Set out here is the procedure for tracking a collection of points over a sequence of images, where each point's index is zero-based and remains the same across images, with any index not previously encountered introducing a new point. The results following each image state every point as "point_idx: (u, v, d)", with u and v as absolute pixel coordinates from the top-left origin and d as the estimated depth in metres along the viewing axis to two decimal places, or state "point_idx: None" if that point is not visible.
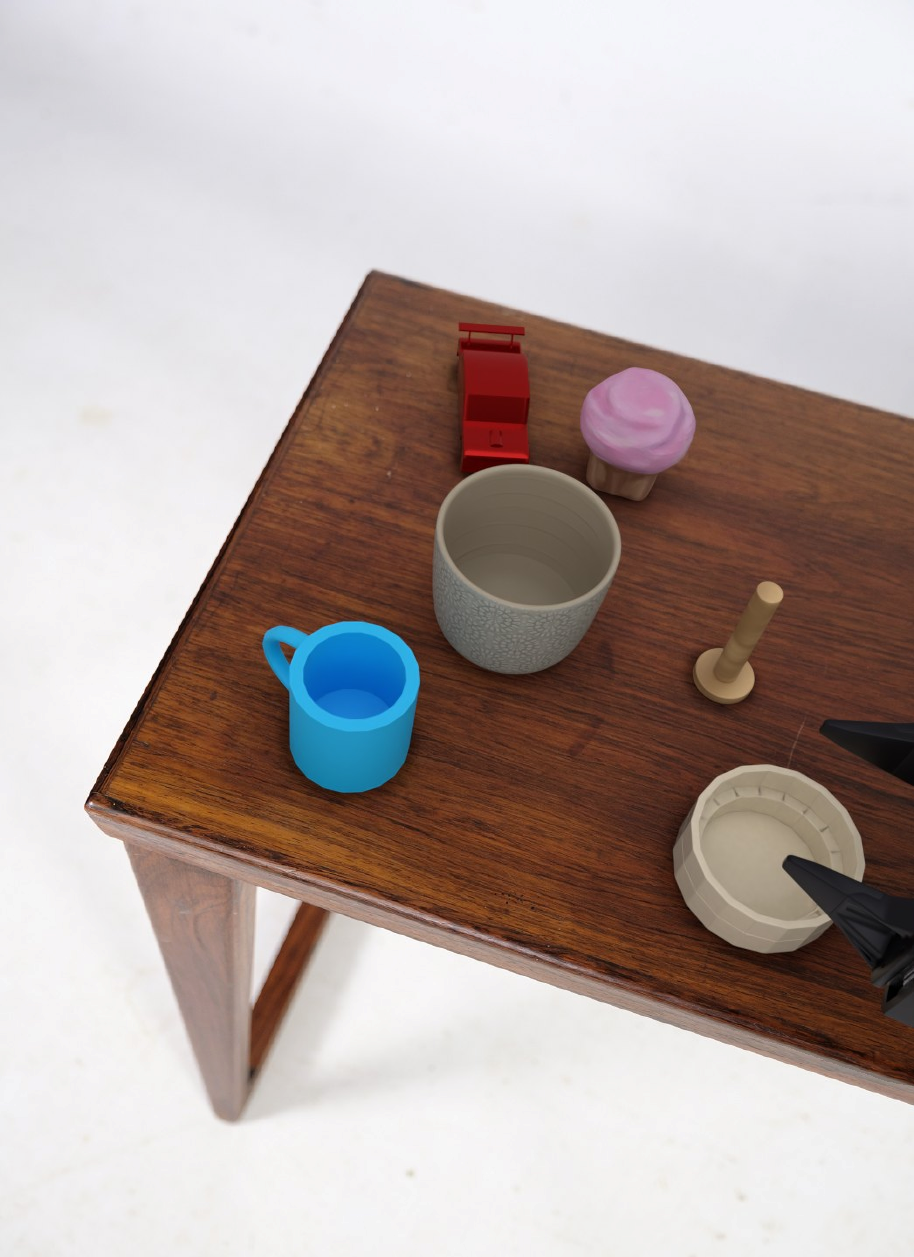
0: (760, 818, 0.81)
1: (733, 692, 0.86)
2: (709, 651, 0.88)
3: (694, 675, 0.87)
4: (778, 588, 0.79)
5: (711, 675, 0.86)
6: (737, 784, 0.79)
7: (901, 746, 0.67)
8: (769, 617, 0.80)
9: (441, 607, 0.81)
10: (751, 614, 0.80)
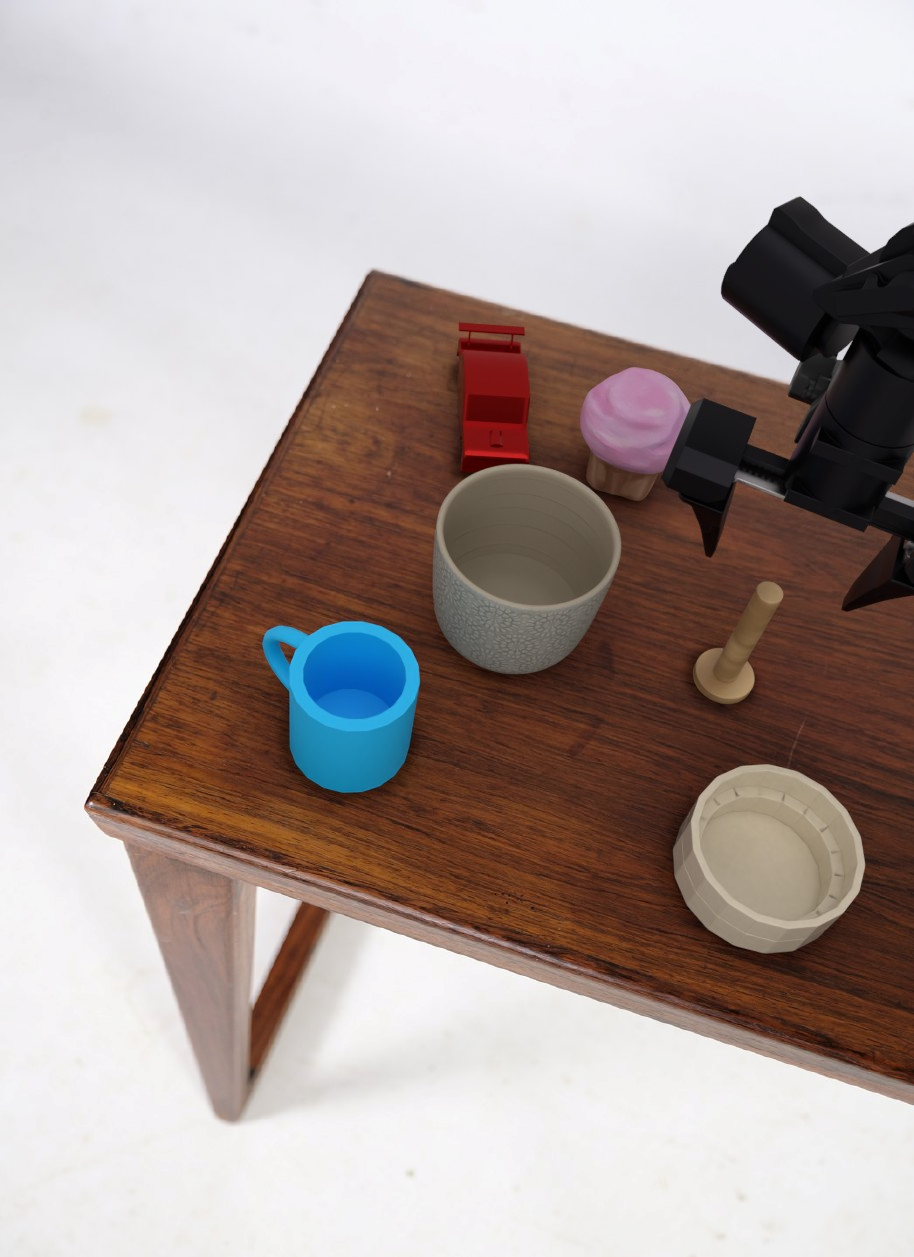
0: (760, 818, 0.81)
1: (733, 692, 0.86)
2: (709, 651, 0.88)
3: (694, 675, 0.87)
4: (778, 588, 0.79)
5: (711, 675, 0.86)
6: (737, 784, 0.79)
7: (878, 557, 0.73)
8: (769, 617, 0.80)
9: (441, 607, 0.81)
10: (751, 614, 0.80)
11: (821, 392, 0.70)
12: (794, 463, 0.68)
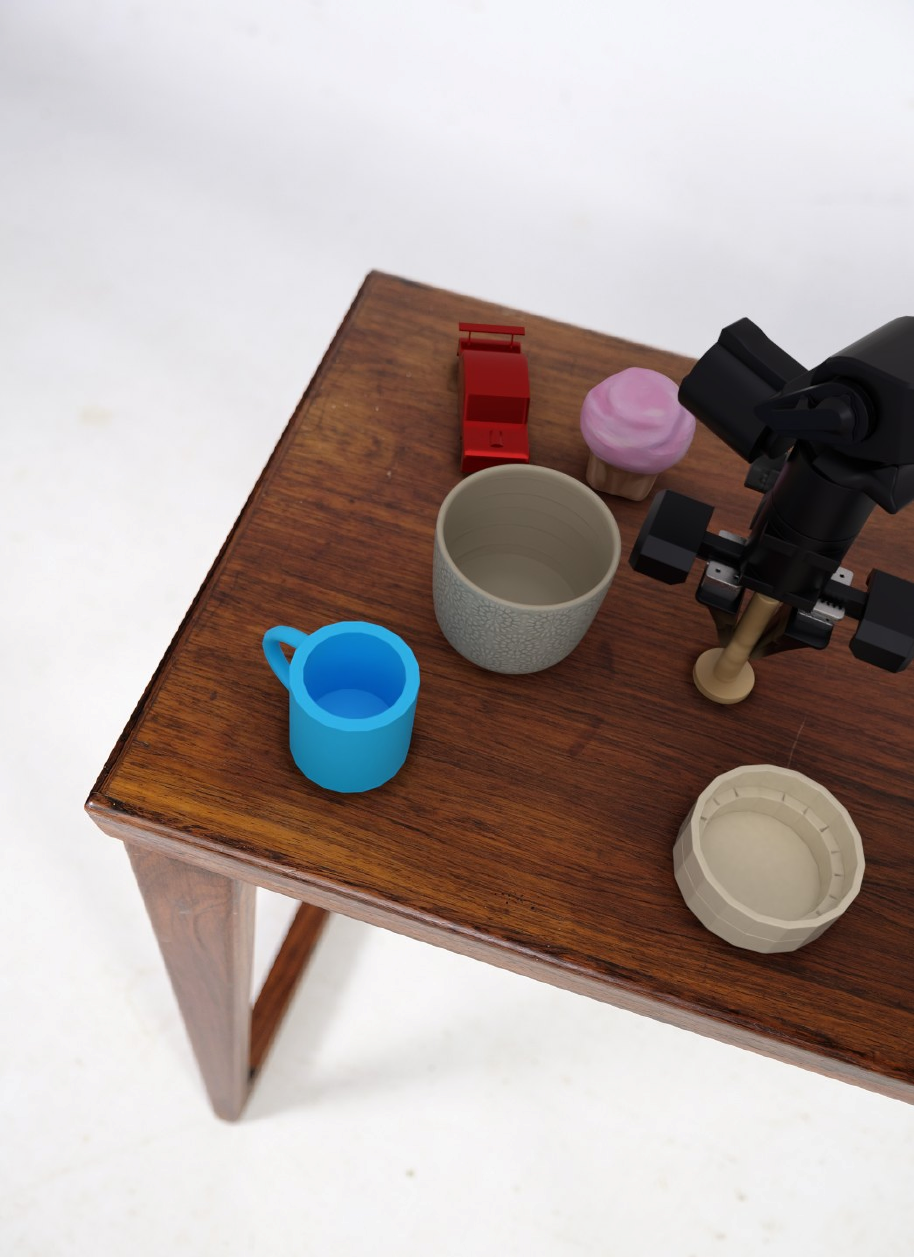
0: (760, 818, 0.81)
1: (733, 692, 0.86)
2: (709, 651, 0.88)
3: (694, 675, 0.87)
4: None
5: (711, 675, 0.86)
6: (737, 784, 0.79)
7: (778, 612, 0.81)
8: (769, 617, 0.80)
9: (441, 607, 0.81)
10: (751, 614, 0.80)
11: (773, 484, 0.77)
12: (747, 550, 0.75)
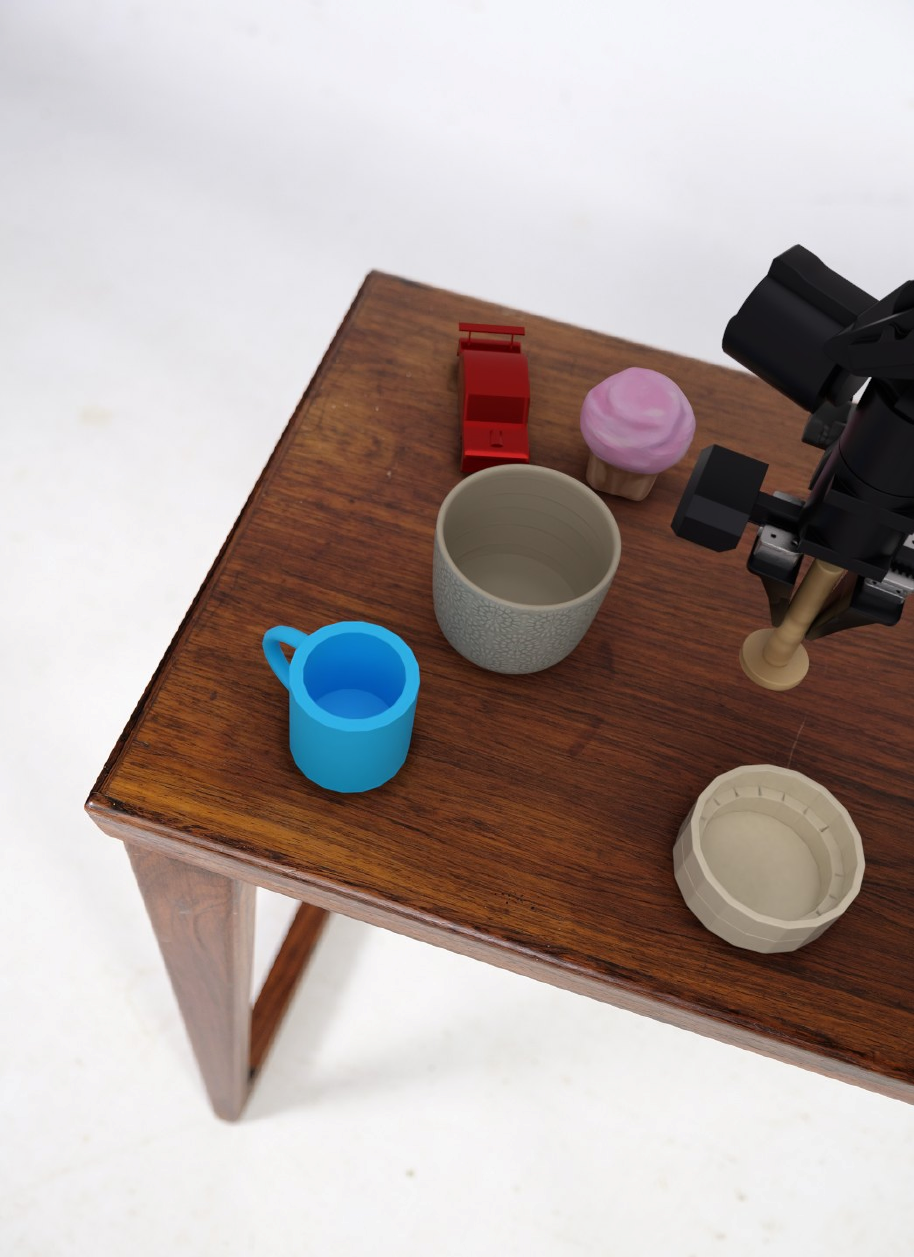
0: (760, 818, 0.81)
1: (785, 677, 0.76)
2: (757, 632, 0.78)
3: (741, 658, 0.77)
4: None
5: (760, 658, 0.77)
6: (737, 784, 0.79)
7: (840, 585, 0.71)
8: (830, 590, 0.70)
9: (441, 607, 0.81)
10: (809, 587, 0.70)
11: (836, 438, 0.68)
12: (807, 511, 0.66)
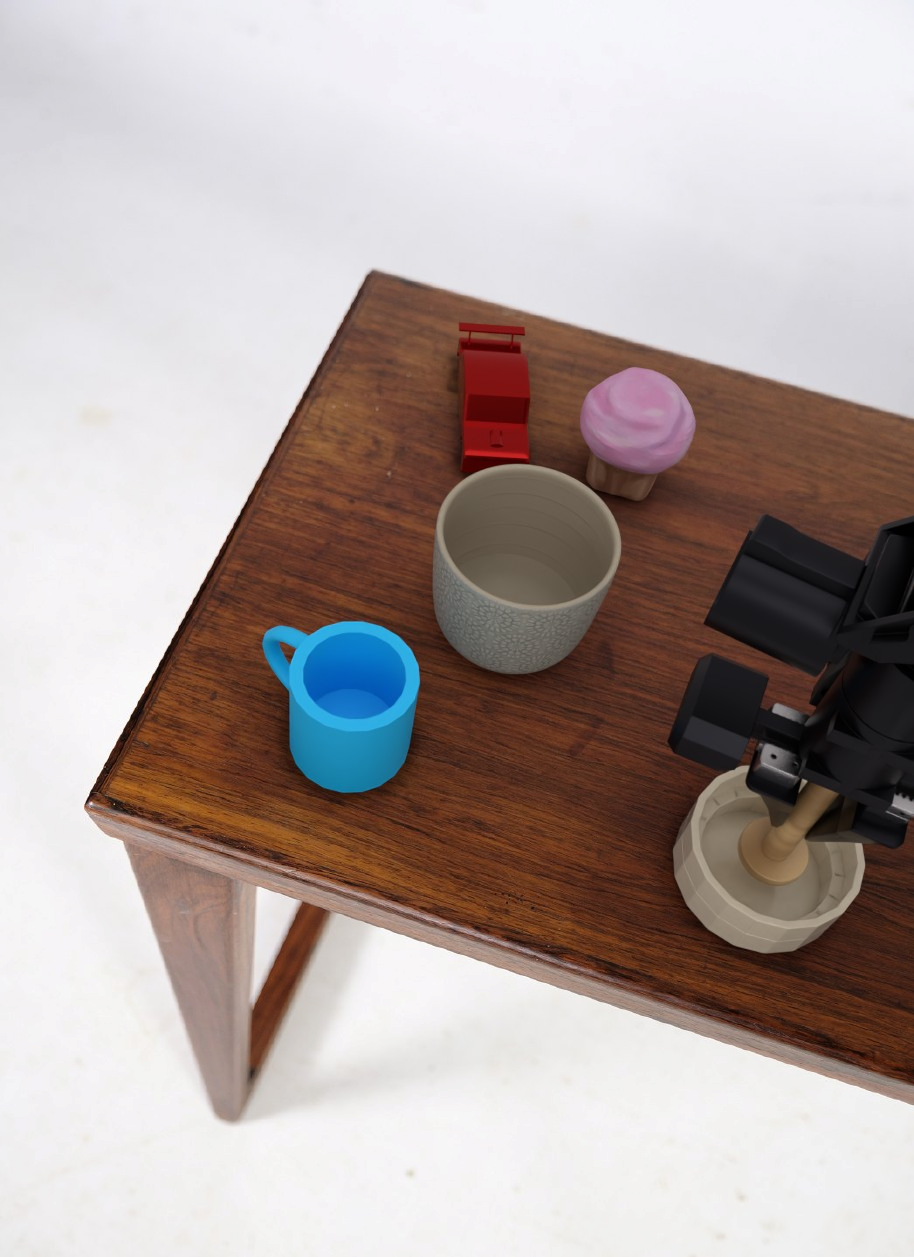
0: None
1: (785, 873, 0.74)
2: (756, 821, 0.76)
3: (739, 851, 0.75)
4: None
5: (759, 852, 0.75)
6: (737, 784, 0.79)
7: None
8: (831, 802, 0.68)
9: (441, 607, 0.81)
10: (810, 798, 0.68)
11: None
12: (809, 736, 0.64)
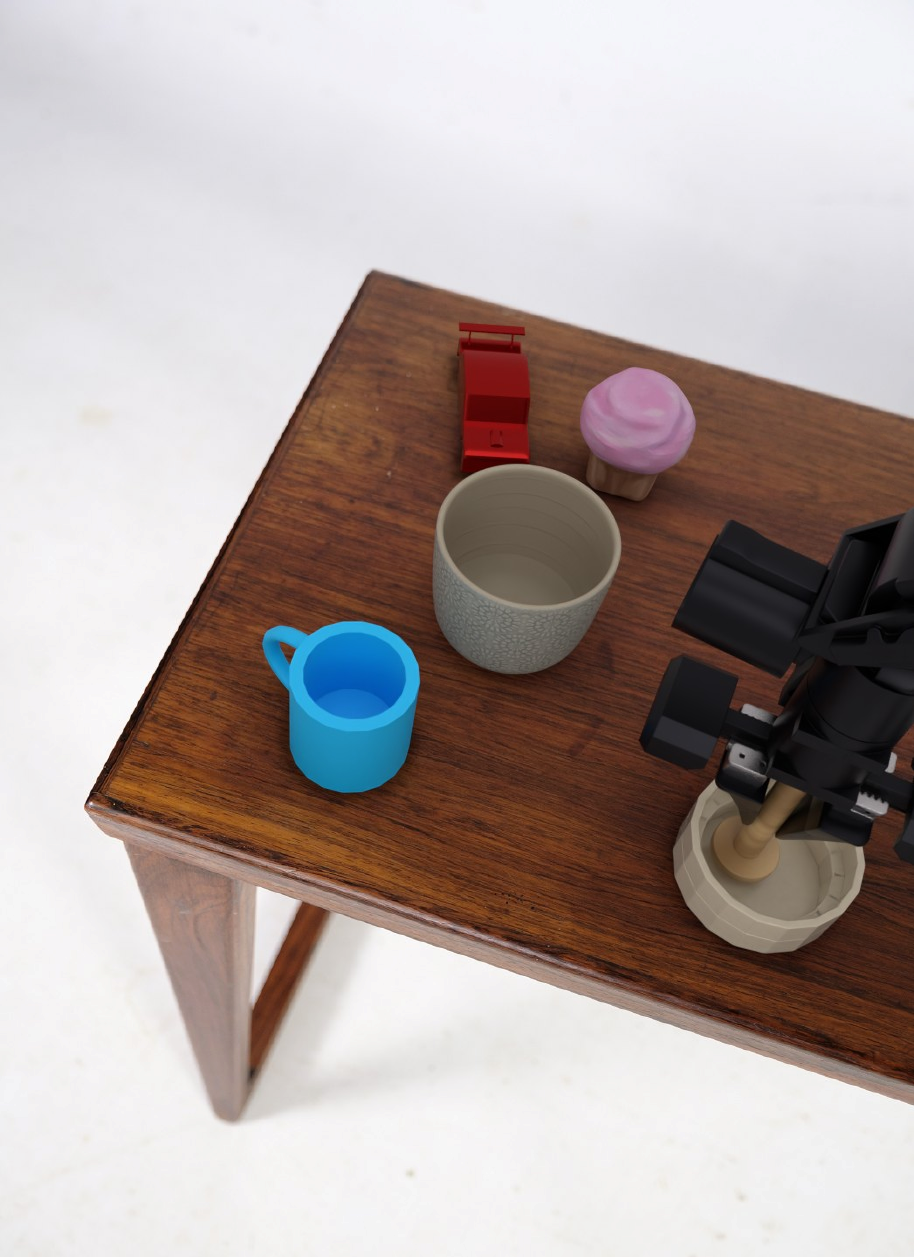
0: None
1: (756, 870, 0.76)
2: (728, 820, 0.78)
3: (712, 849, 0.77)
4: None
5: (731, 850, 0.76)
6: None
7: None
8: (799, 800, 0.70)
9: (441, 607, 0.81)
10: (779, 797, 0.70)
11: None
12: (776, 736, 0.65)
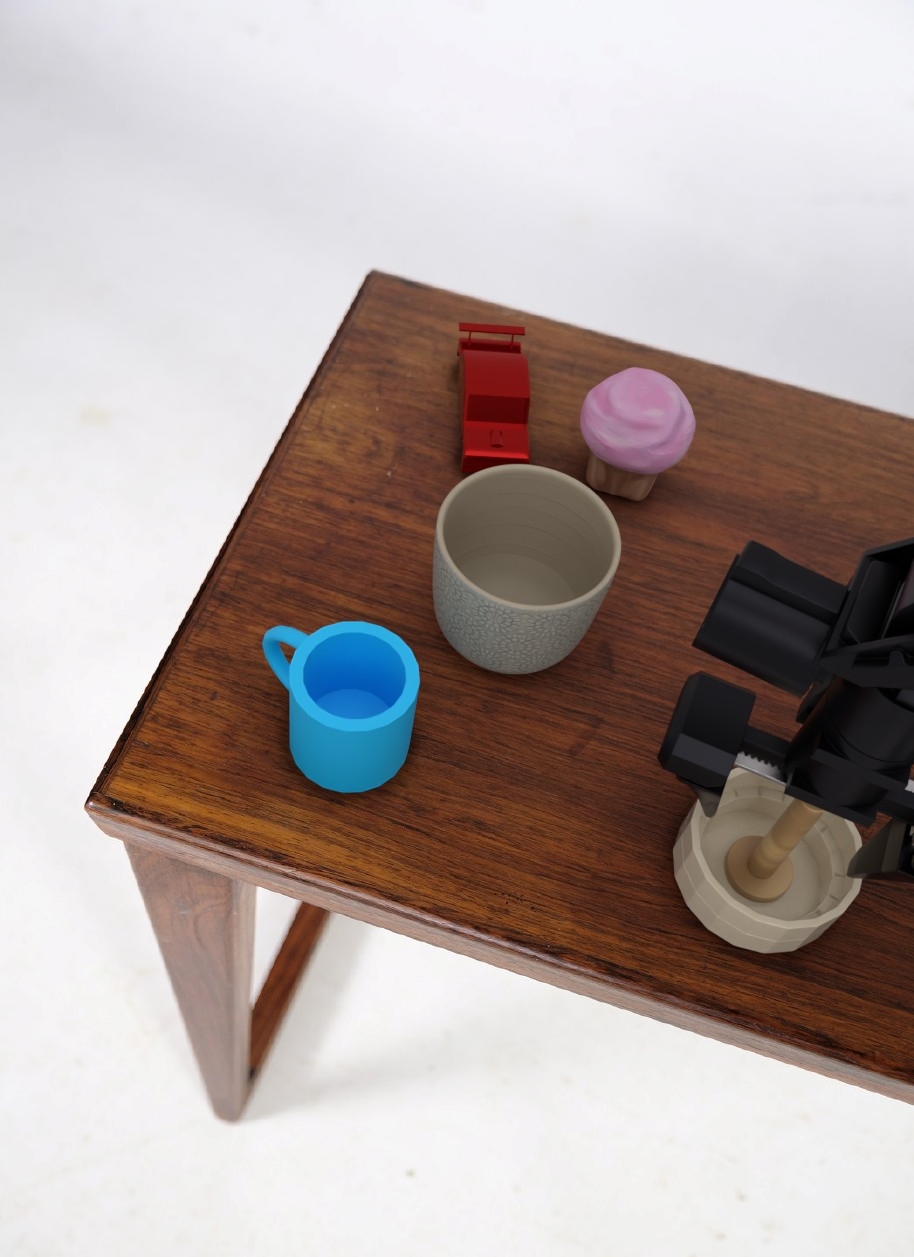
0: (760, 818, 0.81)
1: (770, 890, 0.77)
2: (742, 840, 0.79)
3: (726, 869, 0.78)
4: None
5: (745, 870, 0.77)
6: (737, 784, 0.79)
7: (884, 831, 0.71)
8: (813, 823, 0.71)
9: (441, 607, 0.81)
10: (793, 819, 0.71)
11: None
12: (794, 753, 0.65)
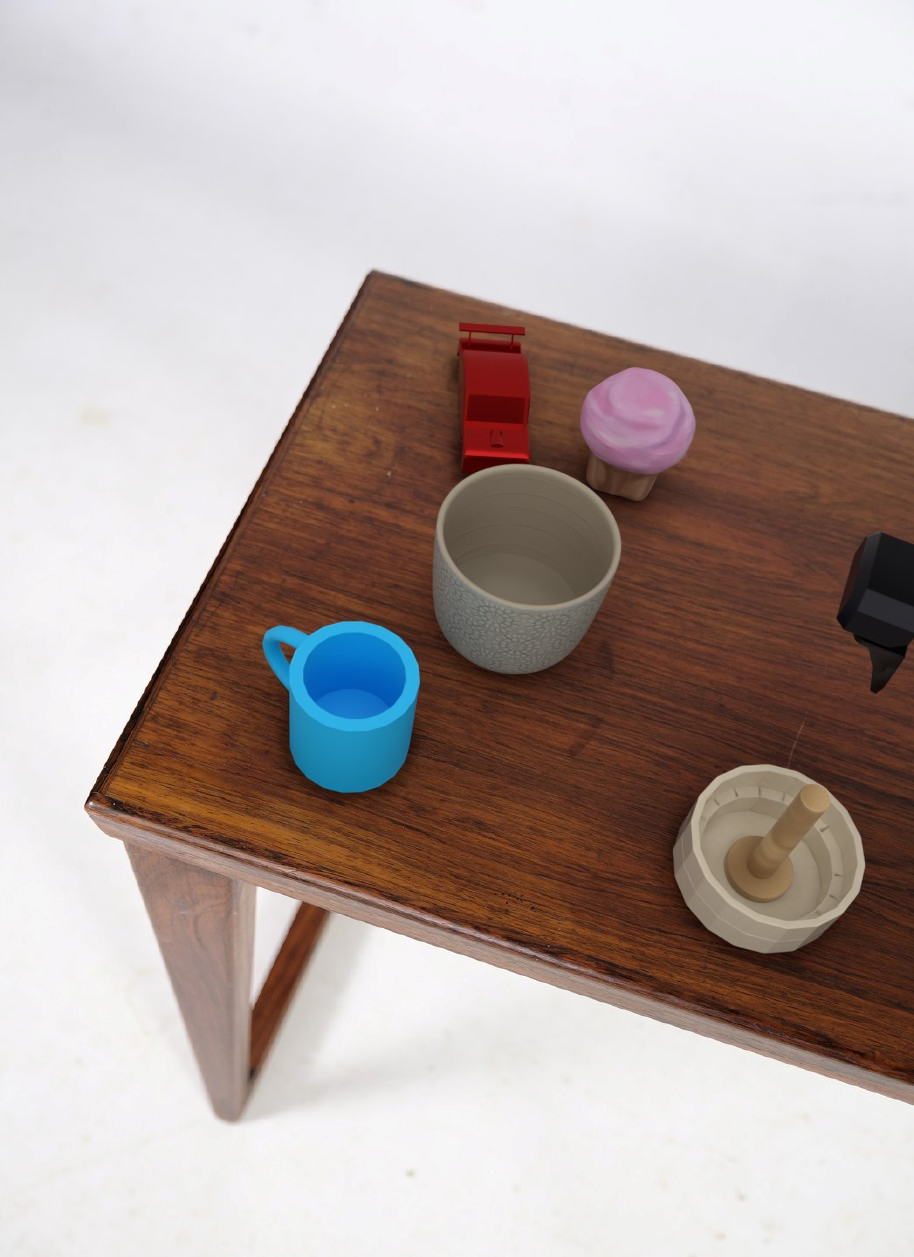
0: (760, 818, 0.81)
1: (770, 890, 0.77)
2: (742, 840, 0.79)
3: (726, 869, 0.78)
4: (824, 792, 0.70)
5: (745, 870, 0.77)
6: (737, 784, 0.79)
7: None
8: (813, 823, 0.71)
9: (441, 607, 0.81)
10: (793, 819, 0.71)
11: None
12: None
